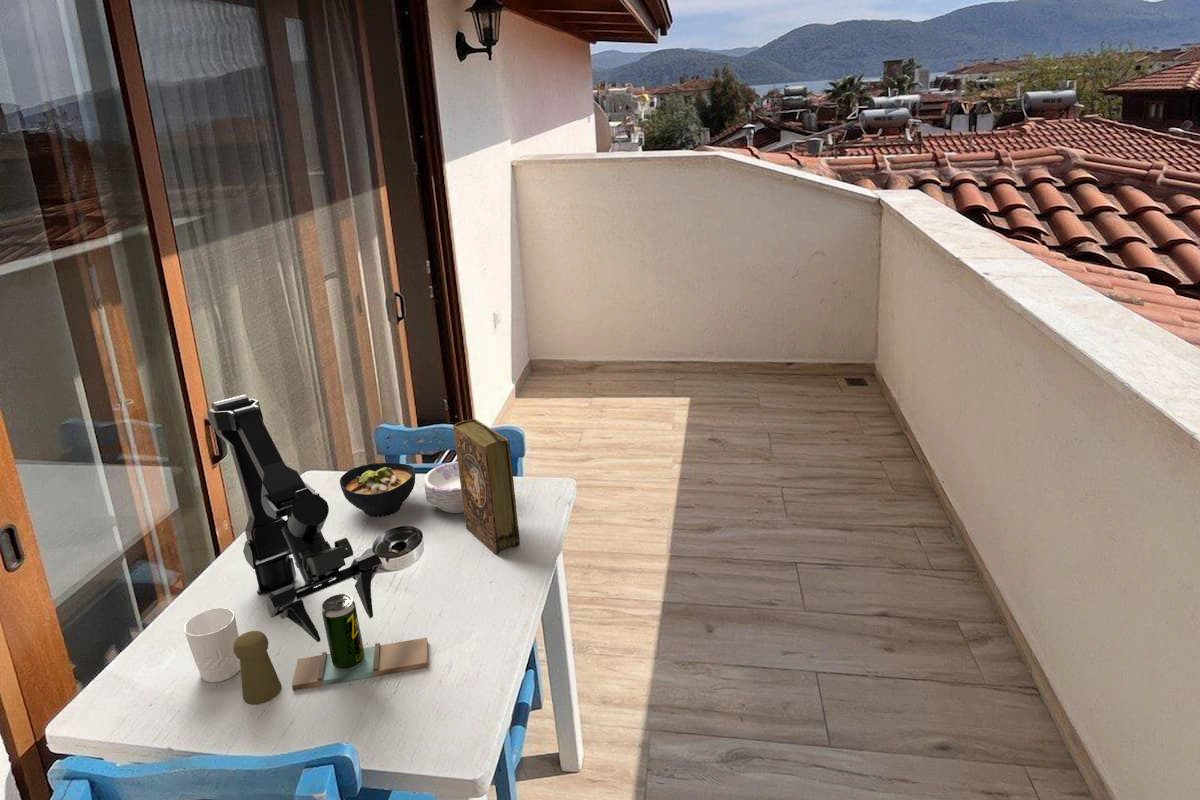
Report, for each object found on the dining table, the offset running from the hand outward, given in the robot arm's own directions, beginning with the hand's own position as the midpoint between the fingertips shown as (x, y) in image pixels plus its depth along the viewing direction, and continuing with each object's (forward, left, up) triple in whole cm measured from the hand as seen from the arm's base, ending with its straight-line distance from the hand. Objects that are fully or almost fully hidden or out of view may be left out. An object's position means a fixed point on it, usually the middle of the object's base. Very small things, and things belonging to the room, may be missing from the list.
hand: (345, 629), depth 136 cm
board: (+1, +1, -9) cm, 9 cm away
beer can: (-1, +1, -8) cm, 8 cm away
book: (+26, +39, -9) cm, 48 cm away
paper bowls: (+20, +57, -9) cm, 61 cm away
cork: (-15, -1, -9) cm, 17 cm away
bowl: (+2, +60, -9) cm, 60 cm away
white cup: (-23, +7, -9) cm, 25 cm away
